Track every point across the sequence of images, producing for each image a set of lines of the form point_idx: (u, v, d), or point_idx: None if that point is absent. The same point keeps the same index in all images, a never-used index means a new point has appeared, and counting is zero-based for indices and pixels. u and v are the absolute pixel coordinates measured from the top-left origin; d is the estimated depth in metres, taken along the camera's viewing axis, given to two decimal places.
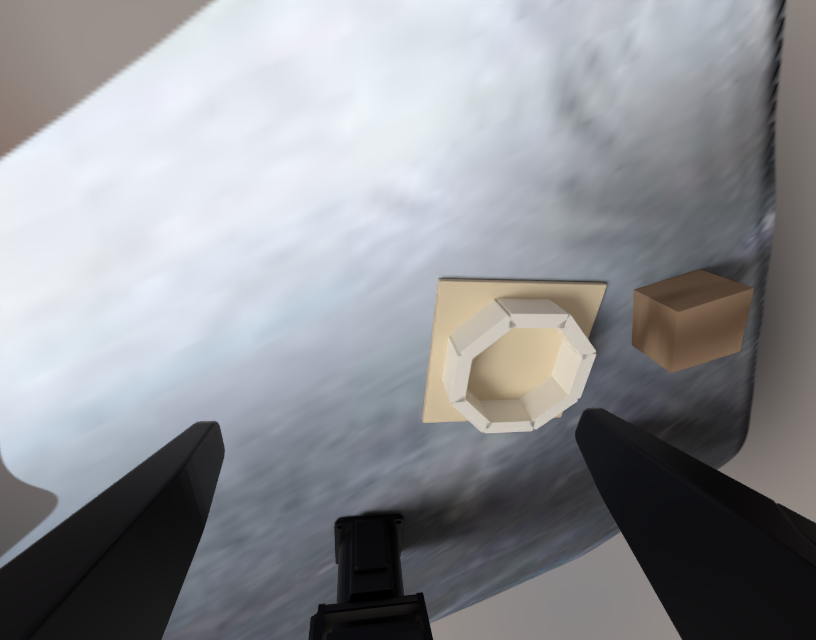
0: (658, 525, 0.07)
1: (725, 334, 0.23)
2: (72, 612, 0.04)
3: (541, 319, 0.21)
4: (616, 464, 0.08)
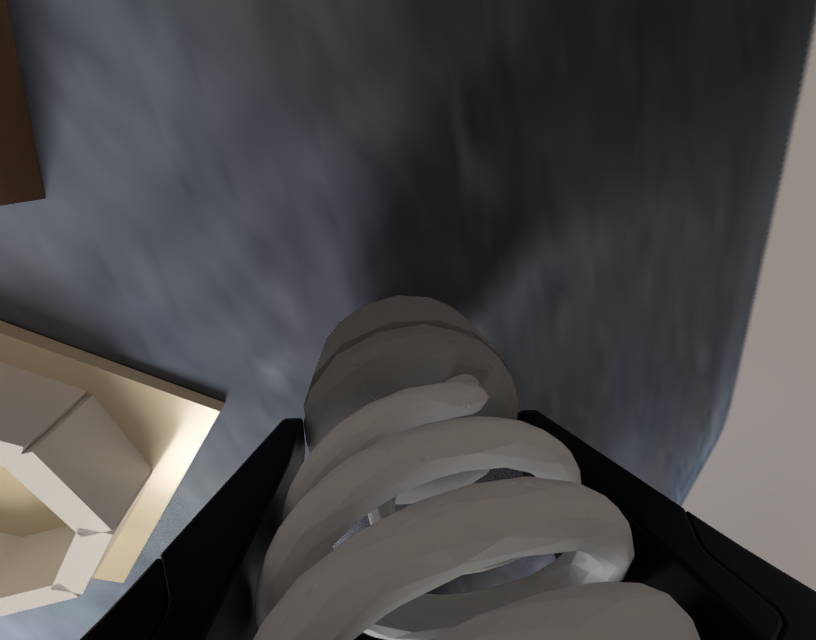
0: None
1: None
2: (228, 595, 0.04)
3: None
4: None
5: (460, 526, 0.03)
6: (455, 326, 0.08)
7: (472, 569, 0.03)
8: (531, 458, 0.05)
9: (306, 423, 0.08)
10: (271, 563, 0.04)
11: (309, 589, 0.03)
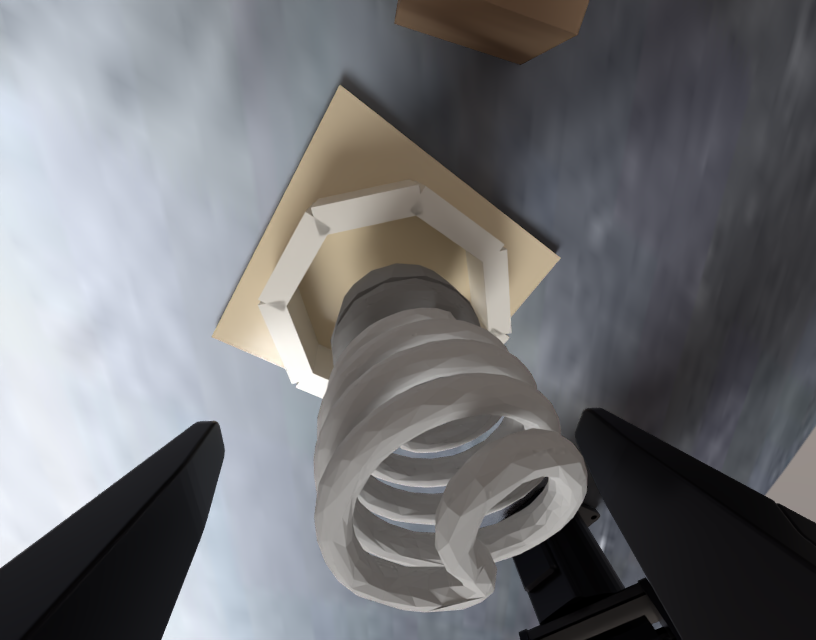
0: (658, 525, 0.07)
1: None
2: (72, 612, 0.04)
3: (292, 259, 0.12)
4: (616, 464, 0.08)
5: (431, 352, 0.07)
6: (437, 280, 0.11)
7: (437, 374, 0.07)
8: None
9: (334, 348, 0.11)
10: (328, 397, 0.08)
11: (356, 384, 0.07)
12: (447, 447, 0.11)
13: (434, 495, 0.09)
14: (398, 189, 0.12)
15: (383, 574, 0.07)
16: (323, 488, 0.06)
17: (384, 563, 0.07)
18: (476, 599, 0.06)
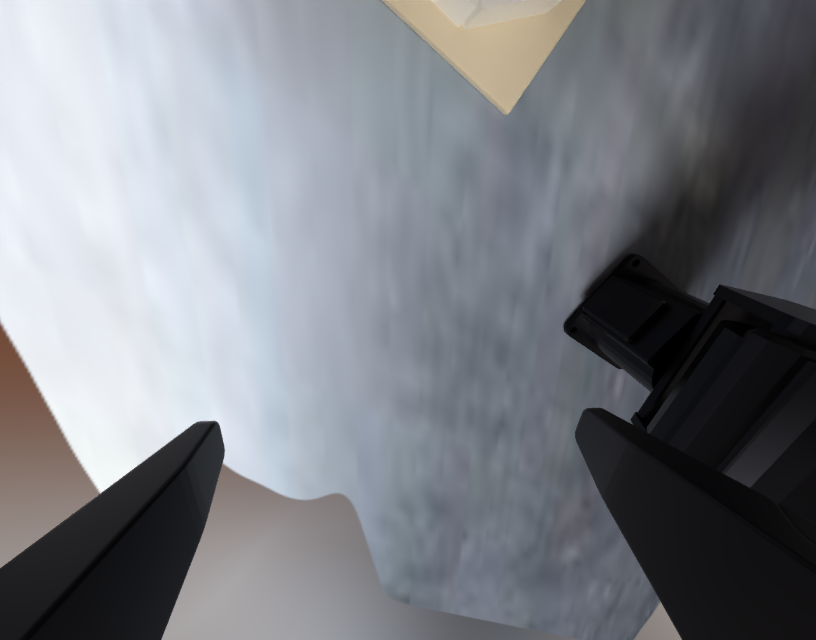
0: (658, 525, 0.07)
1: None
2: (71, 613, 0.04)
3: None
4: (616, 464, 0.08)
5: None
6: None
7: None
8: None
9: None
10: None
11: None
12: None
13: None
14: None
15: None
16: None
17: None
18: None
